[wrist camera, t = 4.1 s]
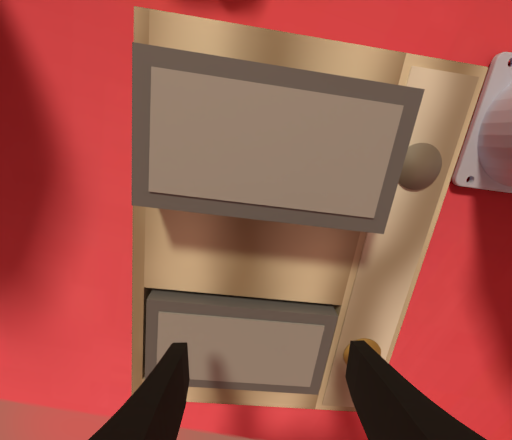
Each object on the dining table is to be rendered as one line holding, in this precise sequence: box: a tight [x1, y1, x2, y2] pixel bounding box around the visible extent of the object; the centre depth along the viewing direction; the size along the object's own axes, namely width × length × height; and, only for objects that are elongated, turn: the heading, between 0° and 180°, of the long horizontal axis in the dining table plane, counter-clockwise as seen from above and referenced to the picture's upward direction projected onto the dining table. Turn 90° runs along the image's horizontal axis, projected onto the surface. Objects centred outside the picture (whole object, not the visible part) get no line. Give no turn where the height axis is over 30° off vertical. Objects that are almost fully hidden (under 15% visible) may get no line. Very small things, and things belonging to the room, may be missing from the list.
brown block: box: [145, 288, 338, 395], centre depth 19 cm, size 11×6×4 cm, turn 82°
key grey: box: [132, 42, 425, 234], centre depth 13 cm, size 11×6×4 cm, turn 83°
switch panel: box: [132, 6, 488, 412], centre depth 18 cm, size 16×22×4 cm
